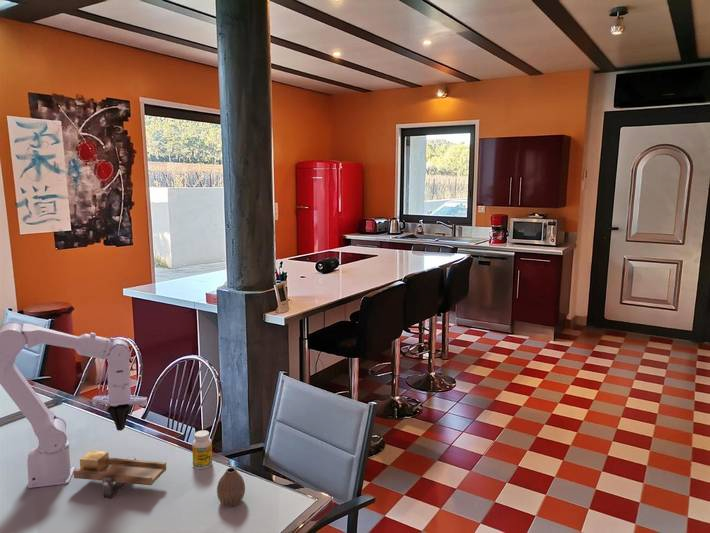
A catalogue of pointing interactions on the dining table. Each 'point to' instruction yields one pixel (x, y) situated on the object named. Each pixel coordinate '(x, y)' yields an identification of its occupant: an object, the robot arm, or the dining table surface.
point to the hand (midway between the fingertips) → (120, 428)
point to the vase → (230, 488)
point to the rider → (94, 461)
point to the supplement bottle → (202, 450)
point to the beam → (126, 471)
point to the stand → (112, 486)
